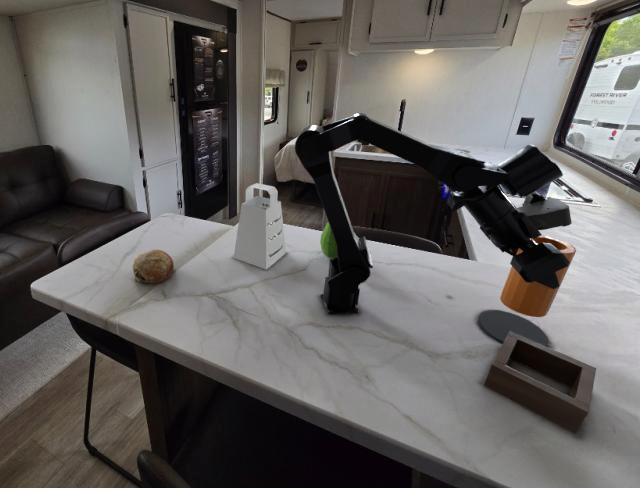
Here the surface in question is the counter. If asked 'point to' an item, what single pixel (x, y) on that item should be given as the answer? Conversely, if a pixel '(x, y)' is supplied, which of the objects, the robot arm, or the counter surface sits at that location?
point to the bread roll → (153, 266)
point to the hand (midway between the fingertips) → (544, 275)
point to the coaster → (509, 326)
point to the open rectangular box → (537, 394)
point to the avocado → (328, 243)
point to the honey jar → (534, 285)
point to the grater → (260, 229)
